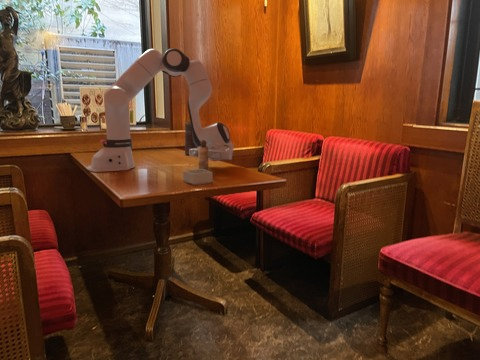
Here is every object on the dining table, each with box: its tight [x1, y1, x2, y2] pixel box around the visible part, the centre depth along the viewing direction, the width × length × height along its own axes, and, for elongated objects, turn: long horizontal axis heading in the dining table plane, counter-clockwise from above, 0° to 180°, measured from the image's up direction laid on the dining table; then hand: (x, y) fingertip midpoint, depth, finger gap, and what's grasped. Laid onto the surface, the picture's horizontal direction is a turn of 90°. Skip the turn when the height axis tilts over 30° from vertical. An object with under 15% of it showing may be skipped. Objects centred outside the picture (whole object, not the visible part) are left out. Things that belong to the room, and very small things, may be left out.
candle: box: [184, 121, 198, 156], centre depth 226 cm, size 8×7×20 cm
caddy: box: [182, 168, 214, 186], centre depth 154 cm, size 9×9×4 cm
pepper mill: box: [198, 140, 209, 171], centre depth 167 cm, size 4×4×16 cm
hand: (203, 155), depth 166 cm, fingers open, 8 cm apart
